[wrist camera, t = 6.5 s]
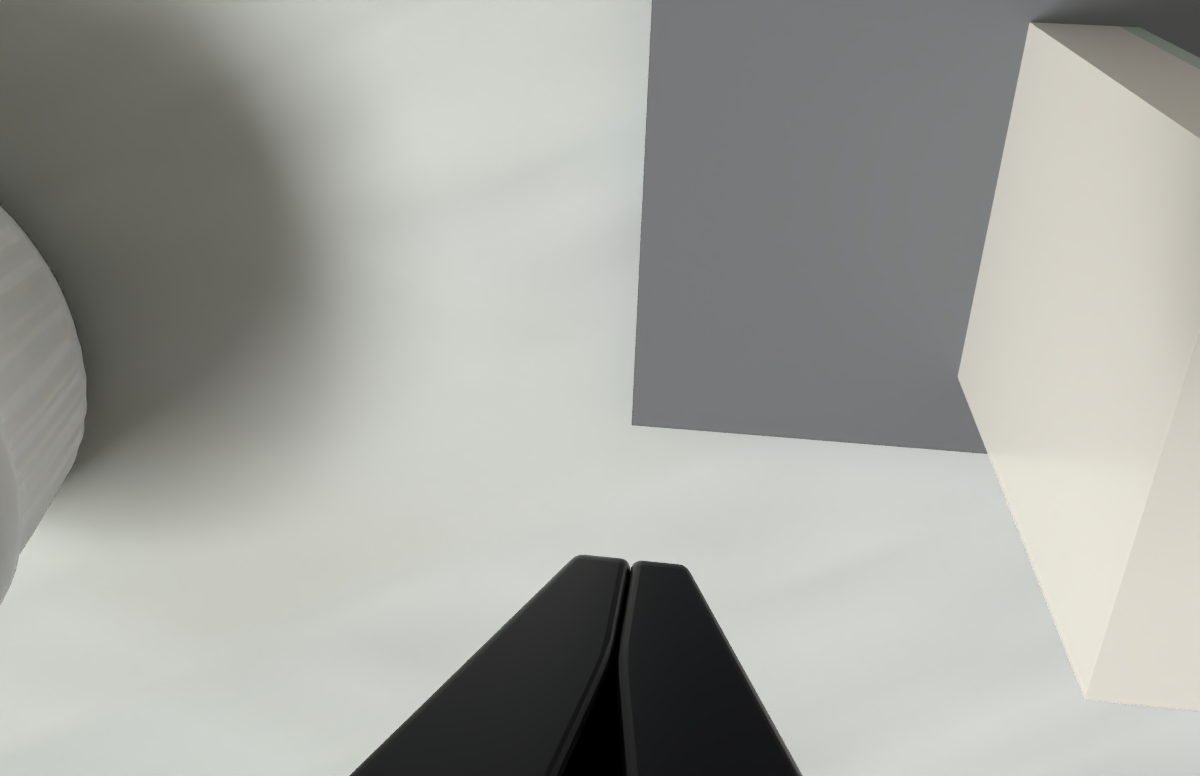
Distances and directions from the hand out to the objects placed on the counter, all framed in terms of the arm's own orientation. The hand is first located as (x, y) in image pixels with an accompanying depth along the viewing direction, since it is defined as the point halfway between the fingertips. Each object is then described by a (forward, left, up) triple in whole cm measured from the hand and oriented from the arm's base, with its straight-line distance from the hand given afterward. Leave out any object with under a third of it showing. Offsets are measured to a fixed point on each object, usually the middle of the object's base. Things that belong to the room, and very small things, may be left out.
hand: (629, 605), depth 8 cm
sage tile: (-6, 0, -11) cm, 12 cm away
